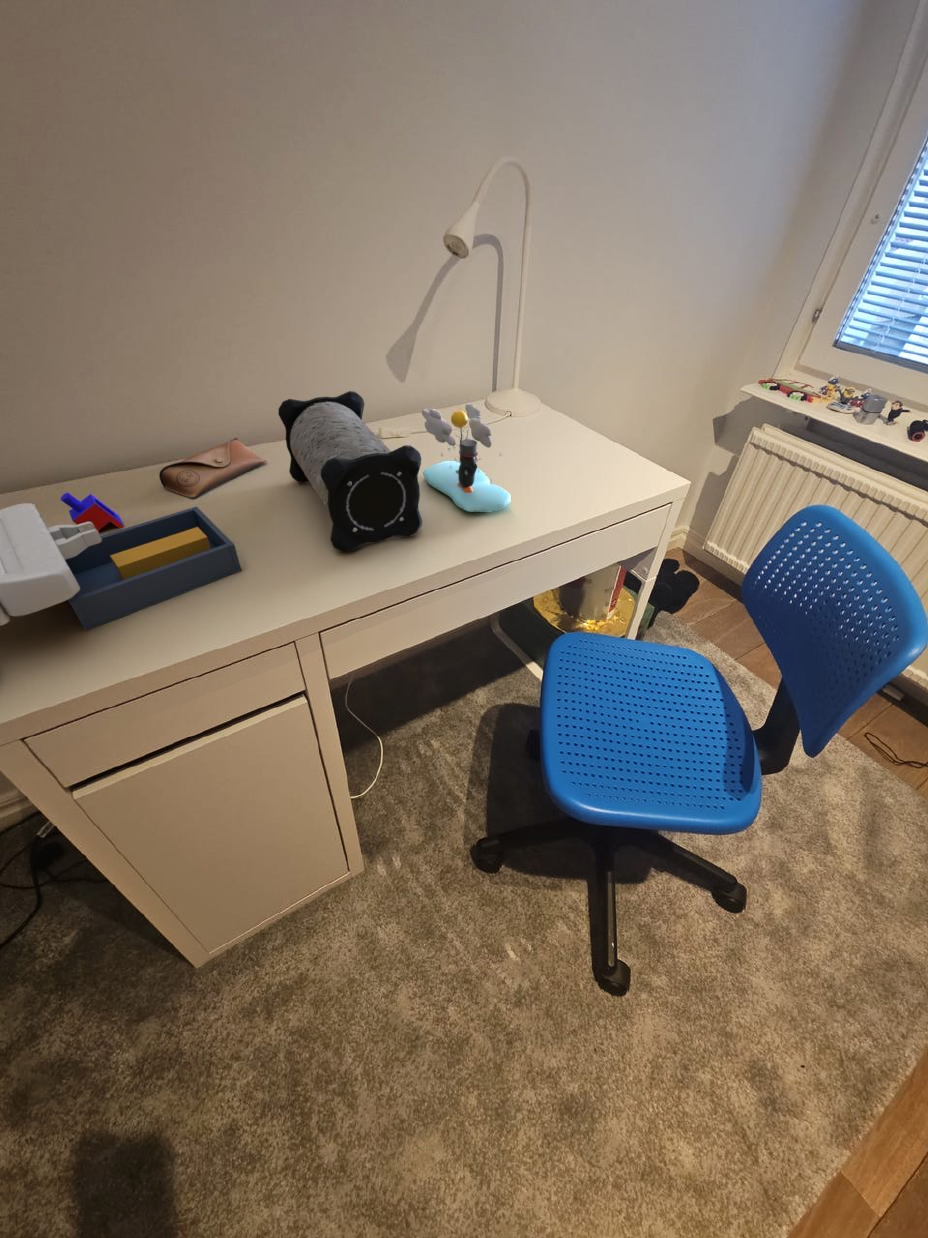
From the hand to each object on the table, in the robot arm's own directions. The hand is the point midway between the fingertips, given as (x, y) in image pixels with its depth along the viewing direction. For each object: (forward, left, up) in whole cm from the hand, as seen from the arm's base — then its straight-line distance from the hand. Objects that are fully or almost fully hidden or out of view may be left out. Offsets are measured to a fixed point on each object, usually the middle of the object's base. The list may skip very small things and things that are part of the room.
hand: (97, 531), depth 69 cm
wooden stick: (0, 0, -7) cm, 7 cm away
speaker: (+37, -1, -9) cm, 38 cm away
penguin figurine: (+56, -9, -9) cm, 57 cm away
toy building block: (+2, +18, -9) cm, 21 cm away
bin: (+4, 0, -9) cm, 10 cm away
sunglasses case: (+24, +25, -9) cm, 36 cm away
